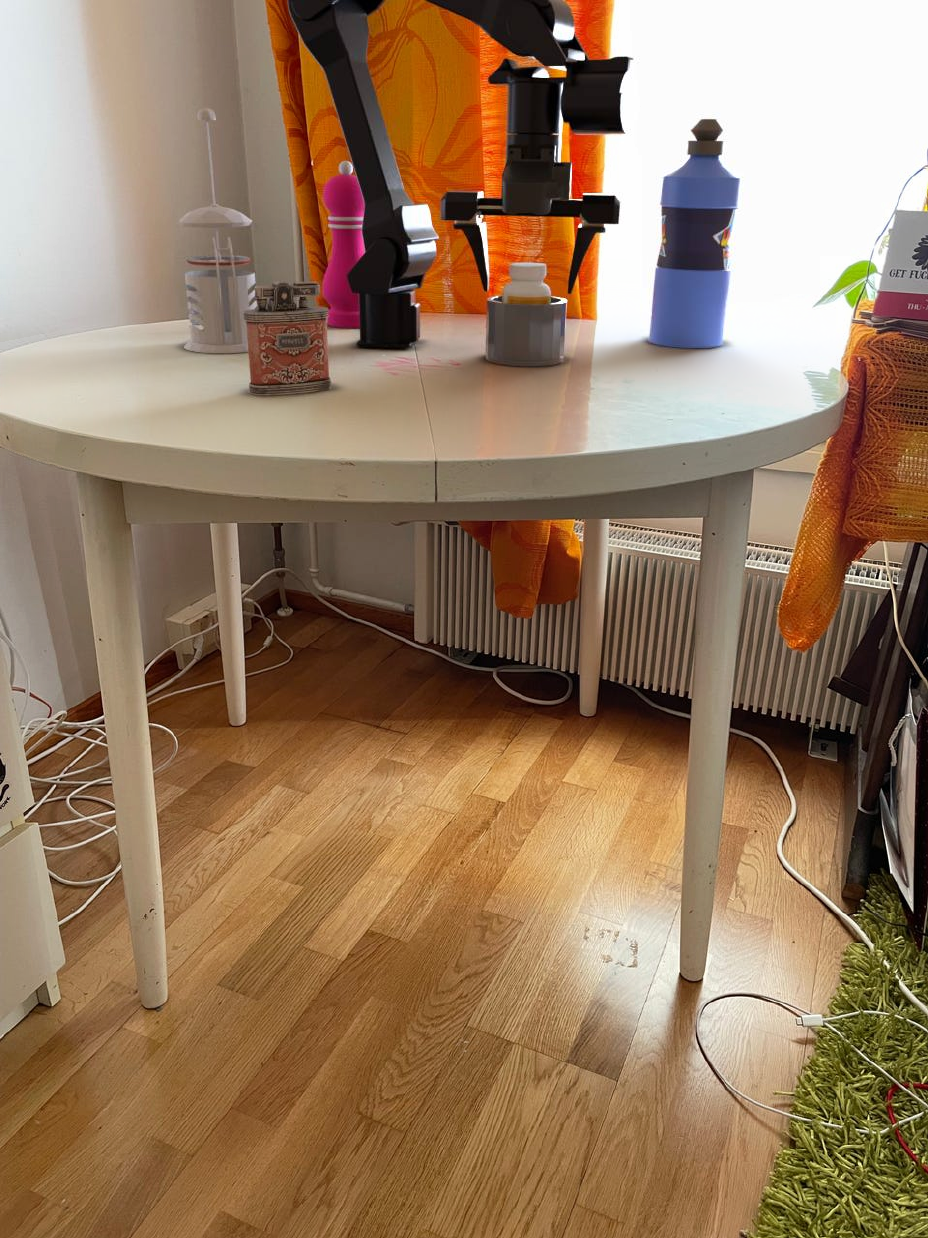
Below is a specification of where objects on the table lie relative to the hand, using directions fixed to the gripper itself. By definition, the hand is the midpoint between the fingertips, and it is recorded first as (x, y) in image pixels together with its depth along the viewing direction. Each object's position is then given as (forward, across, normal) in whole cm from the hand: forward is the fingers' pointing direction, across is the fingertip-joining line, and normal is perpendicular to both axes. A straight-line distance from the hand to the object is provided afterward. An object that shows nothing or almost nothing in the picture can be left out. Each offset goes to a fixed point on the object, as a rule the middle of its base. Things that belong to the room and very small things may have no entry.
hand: (527, 292), depth 109 cm
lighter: (+7, -21, -21) cm, 31 cm away
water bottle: (+8, +19, +16) cm, 26 cm away
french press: (+7, -35, 0) cm, 36 cm away
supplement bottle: (+7, 0, 0) cm, 7 cm away
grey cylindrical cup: (+7, 0, 0) cm, 7 cm away
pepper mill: (+7, -25, +20) cm, 33 cm away
